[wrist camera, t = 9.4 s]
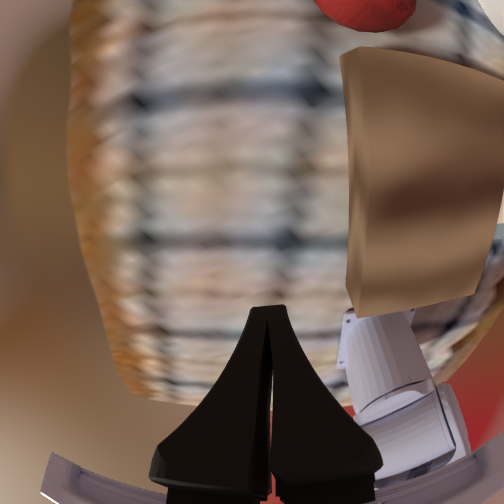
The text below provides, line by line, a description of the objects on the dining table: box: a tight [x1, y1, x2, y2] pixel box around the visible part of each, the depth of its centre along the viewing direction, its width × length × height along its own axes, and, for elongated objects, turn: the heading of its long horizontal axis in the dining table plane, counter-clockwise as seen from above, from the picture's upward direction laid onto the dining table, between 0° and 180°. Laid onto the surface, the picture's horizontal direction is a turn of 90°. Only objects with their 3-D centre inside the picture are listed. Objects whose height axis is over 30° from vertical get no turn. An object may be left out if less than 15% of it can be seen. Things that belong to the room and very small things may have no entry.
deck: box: [339, 47, 504, 319], centre depth 15 cm, size 18×12×4 cm, turn 9°
